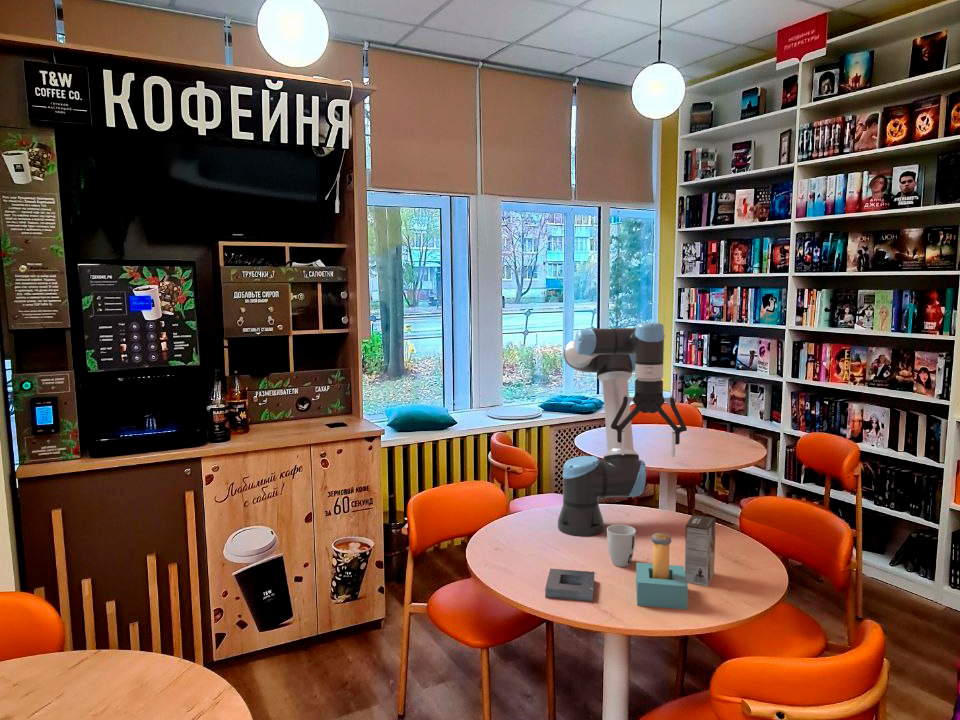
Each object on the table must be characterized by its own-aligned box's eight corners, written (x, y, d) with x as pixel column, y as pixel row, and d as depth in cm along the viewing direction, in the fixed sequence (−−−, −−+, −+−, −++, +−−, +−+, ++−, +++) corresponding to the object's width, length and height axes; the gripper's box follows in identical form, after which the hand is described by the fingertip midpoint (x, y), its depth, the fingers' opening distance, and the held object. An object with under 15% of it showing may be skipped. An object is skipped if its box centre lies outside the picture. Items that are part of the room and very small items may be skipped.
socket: (636, 584, 175) (636, 562, 174) (682, 587, 173) (683, 566, 172) (637, 605, 163) (637, 582, 163) (687, 609, 161) (687, 586, 160)
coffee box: (690, 569, 184) (692, 514, 182) (714, 573, 181) (716, 517, 179) (683, 582, 176) (685, 524, 174) (708, 587, 173) (710, 528, 171)
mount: (550, 577, 180) (550, 568, 180) (594, 580, 177) (594, 571, 177) (545, 597, 168) (545, 588, 168) (592, 601, 166) (592, 592, 165)
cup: (635, 570, 184) (636, 535, 183) (606, 567, 185) (606, 533, 184) (634, 558, 192) (635, 525, 191) (606, 556, 193) (606, 523, 192)
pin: (650, 591, 171) (651, 532, 169) (669, 593, 170) (670, 533, 168) (651, 600, 166) (652, 539, 164) (670, 601, 165) (672, 540, 163)
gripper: (602, 380, 178) (601, 456, 181) (698, 381, 173) (696, 460, 175) (603, 376, 186) (602, 449, 188) (695, 378, 180) (693, 453, 183)
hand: (647, 454), depth 182 cm, fingers open, 13 cm apart
